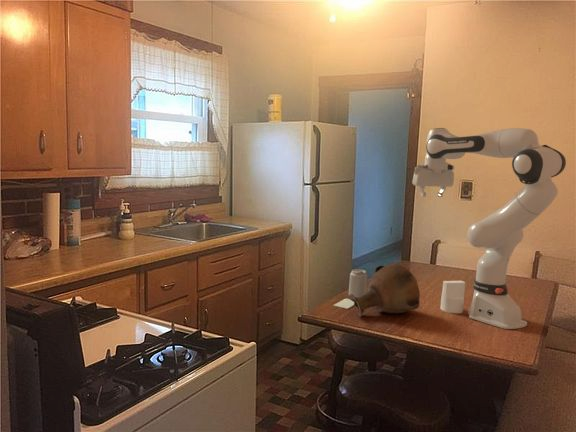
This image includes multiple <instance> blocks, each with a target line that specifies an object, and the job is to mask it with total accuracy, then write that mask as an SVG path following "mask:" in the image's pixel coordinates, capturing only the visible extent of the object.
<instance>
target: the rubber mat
mask: <svg viewBox="0 0 576 432" xmlns="http://www.w3.org/2000/svg"><path fill="white" fill-rule="evenodd" d="M332 306H333V307H335V308H341V309H345V310H349V309H350V308H352V307H355V306H354V302H353V301H351V300H350V299H349V298H344V299H342V300H340V301H339V302H336V303H334V304H333V305H332Z"/></svg>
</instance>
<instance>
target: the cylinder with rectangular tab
mask: <svg viewBox="0 0 576 432" xmlns="http://www.w3.org/2000/svg"><path fill="white" fill-rule="evenodd" d="M442 282H443V283H442V291H441V292H442V293H441V297H440V298H441V299H440V310H441V311H443V312H444V313H445V312H446V313H450V314H462V313H463V312H464V306H465V305H464V304H465V291H466V290H465V289H466V288H465V287H466V282H465V281H463V280H443V281H442Z"/></svg>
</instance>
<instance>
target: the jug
mask: <svg viewBox="0 0 576 432" xmlns="http://www.w3.org/2000/svg"><path fill="white" fill-rule="evenodd" d="M420 294H421V293H420V288H419V284H418V280H417V277H416V276H415V275H413V273H412V272H411V271H410V269H408V268H407V267H406V266H404V265H403V264H401V263H390V264H388V265H377V267H376V268H375V269H374V275H373V276H372V278H371V280H370V281H369V283H368V291H366V294H365V295H363V296H361V297H358V298H356V297H355V296H354V295H352V294H350V295H349V294H348V296H347V297H348V299H350V300H351V301H353V302H354V306H353V307H356V308H357V310H358V316H359V318H362V316H363V314H364V312H365V310H367V309H369V308H373V307H374V309H376V310H380V311H382V312H384V313H386V314H402V313H405V312H409V311H414V310H415V311H416V310H417V309H419V307H420V304H421V303H420V297H421V295H420Z"/></svg>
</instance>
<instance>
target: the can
mask: <svg viewBox="0 0 576 432" xmlns="http://www.w3.org/2000/svg"><path fill="white" fill-rule="evenodd" d="M367 281H368V274H367V271H366V270H363V269H352V270H351V272H350V274H349V283H348V295H350V294H352V295H354V296H355V297H356V298H358V297H361V296H363V295H365V294H366V293H367V284H368V283H367Z"/></svg>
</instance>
